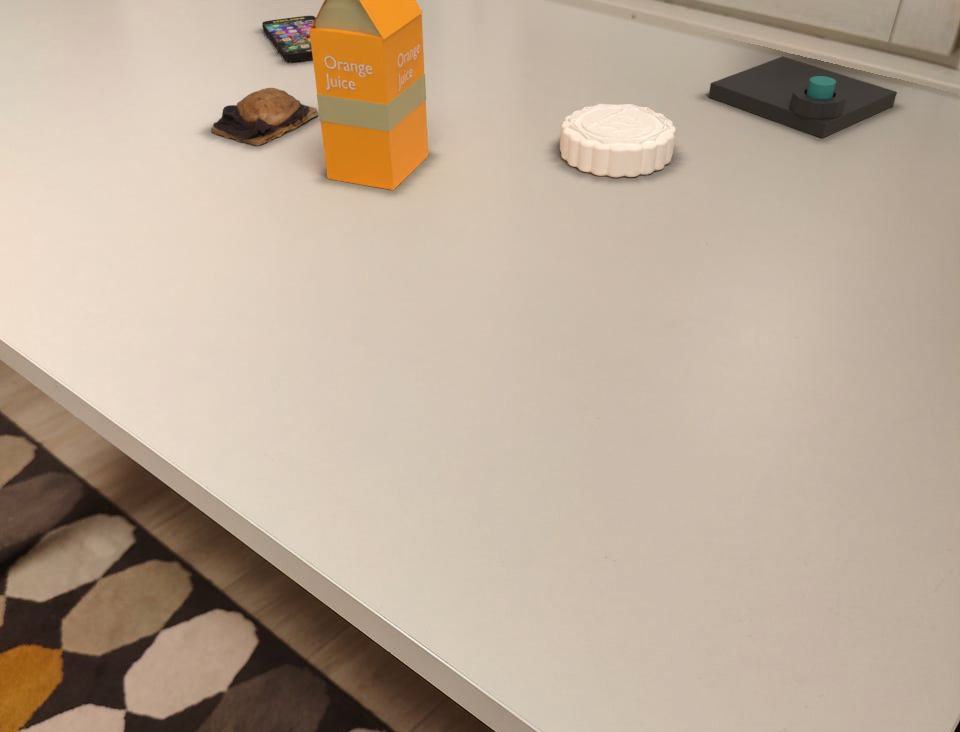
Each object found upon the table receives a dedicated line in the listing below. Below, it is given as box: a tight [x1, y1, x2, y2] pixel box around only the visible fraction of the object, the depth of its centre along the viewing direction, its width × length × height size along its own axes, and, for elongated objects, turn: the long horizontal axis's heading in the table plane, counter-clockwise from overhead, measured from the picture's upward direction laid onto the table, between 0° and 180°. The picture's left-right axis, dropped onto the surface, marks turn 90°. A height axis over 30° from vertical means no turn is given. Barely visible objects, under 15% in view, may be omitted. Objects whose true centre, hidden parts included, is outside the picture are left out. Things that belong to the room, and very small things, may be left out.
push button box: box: [708, 55, 898, 139], centre depth 110 cm, size 16×14×4 cm
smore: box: [210, 87, 319, 147], centre depth 107 cm, size 11×8×4 cm
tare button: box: [806, 76, 836, 99], centre depth 104 cm, size 3×3×2 cm
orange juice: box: [309, 0, 429, 191], centre depth 92 cm, size 8×9×20 cm
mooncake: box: [559, 103, 677, 178], centre depth 100 cm, size 12×12×4 cm
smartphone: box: [261, 15, 317, 62], centre depth 128 cm, size 8×1×15 cm
